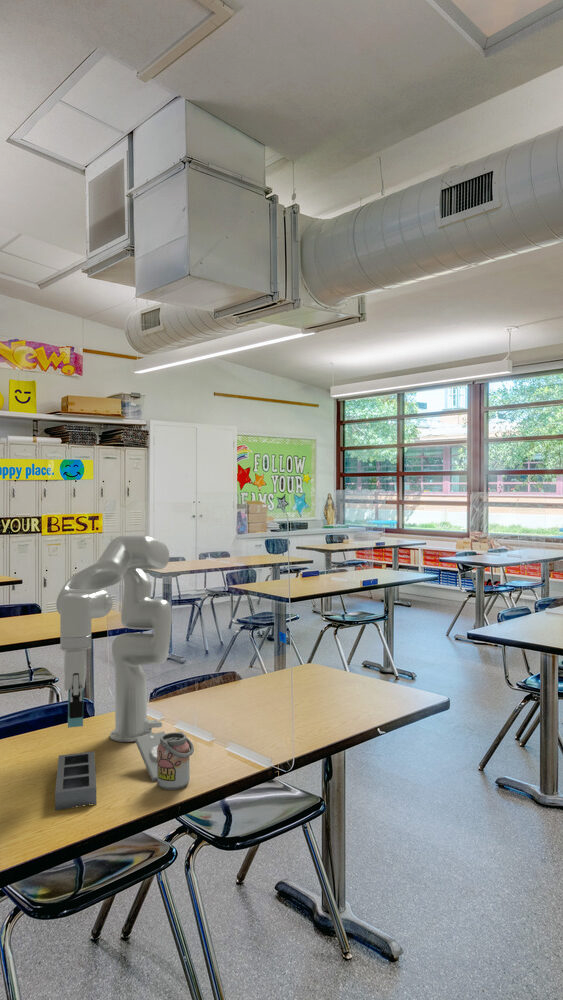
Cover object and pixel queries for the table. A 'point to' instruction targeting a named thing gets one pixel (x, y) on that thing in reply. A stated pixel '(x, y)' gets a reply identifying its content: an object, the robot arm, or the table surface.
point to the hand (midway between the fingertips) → (76, 714)
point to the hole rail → (75, 780)
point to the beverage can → (173, 761)
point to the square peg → (74, 721)
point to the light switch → (149, 752)
